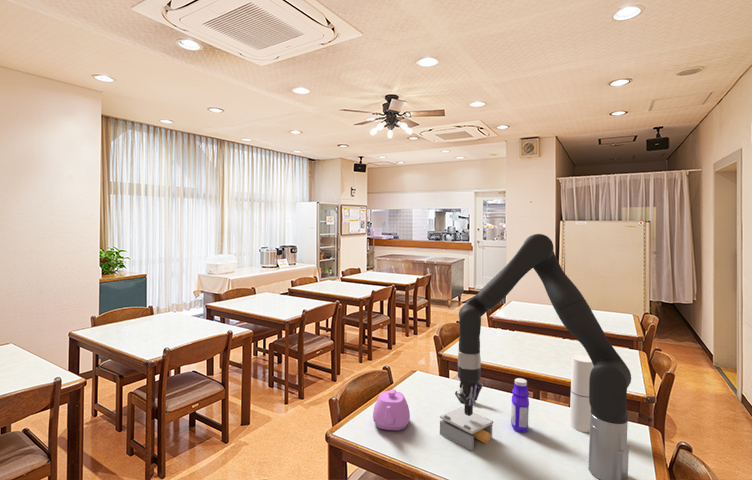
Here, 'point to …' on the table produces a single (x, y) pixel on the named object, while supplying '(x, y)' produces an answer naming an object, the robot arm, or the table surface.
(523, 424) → the bottle
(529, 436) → the table surface
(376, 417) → the teapot
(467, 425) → the cover
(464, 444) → the hinged gray case
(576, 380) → the cylindrical container
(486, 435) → the orange cylinder
